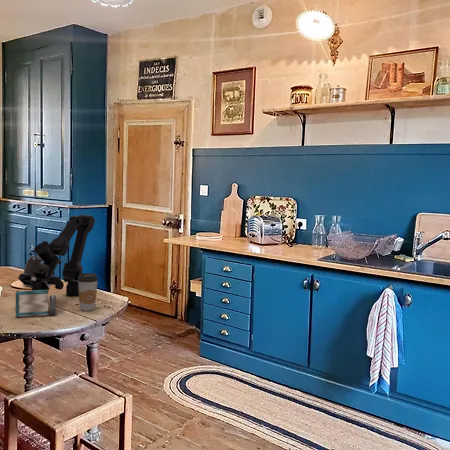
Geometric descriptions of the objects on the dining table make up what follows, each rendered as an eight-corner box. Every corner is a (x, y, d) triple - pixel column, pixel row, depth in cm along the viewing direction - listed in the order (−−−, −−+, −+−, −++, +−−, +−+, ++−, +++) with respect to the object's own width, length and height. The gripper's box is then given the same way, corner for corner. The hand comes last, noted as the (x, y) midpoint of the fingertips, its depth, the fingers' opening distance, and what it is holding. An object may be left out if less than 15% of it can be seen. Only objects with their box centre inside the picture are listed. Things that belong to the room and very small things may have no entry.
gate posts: (56, 314, 193) (57, 295, 192) (53, 316, 191) (53, 297, 190) (19, 309, 197) (19, 290, 196) (15, 311, 195) (15, 292, 194)
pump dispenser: (40, 288, 231) (40, 258, 230) (19, 287, 232) (19, 257, 230) (48, 283, 242) (48, 254, 240) (28, 282, 242) (28, 253, 240)
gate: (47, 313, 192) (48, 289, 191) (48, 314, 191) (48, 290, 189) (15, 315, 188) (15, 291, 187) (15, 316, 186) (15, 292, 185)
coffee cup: (79, 312, 197) (79, 277, 196) (75, 307, 205) (76, 273, 203) (99, 310, 201) (99, 276, 199) (95, 305, 208) (95, 272, 207)
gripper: (20, 254, 198) (2, 286, 189) (59, 258, 194) (43, 291, 184) (32, 269, 207) (16, 300, 197) (70, 273, 202) (55, 305, 193)
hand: (32, 298), depth 193 cm, fingers closed
